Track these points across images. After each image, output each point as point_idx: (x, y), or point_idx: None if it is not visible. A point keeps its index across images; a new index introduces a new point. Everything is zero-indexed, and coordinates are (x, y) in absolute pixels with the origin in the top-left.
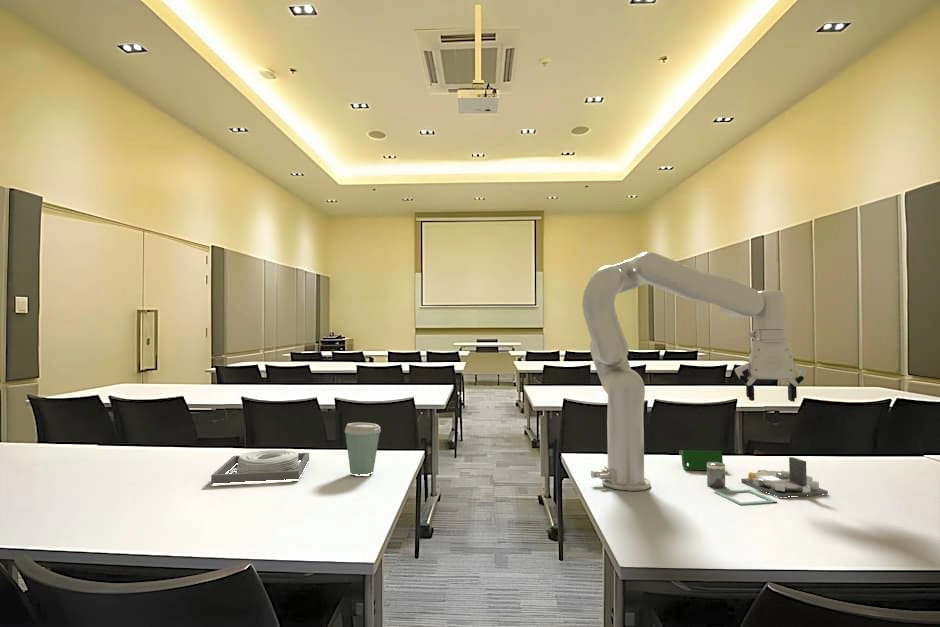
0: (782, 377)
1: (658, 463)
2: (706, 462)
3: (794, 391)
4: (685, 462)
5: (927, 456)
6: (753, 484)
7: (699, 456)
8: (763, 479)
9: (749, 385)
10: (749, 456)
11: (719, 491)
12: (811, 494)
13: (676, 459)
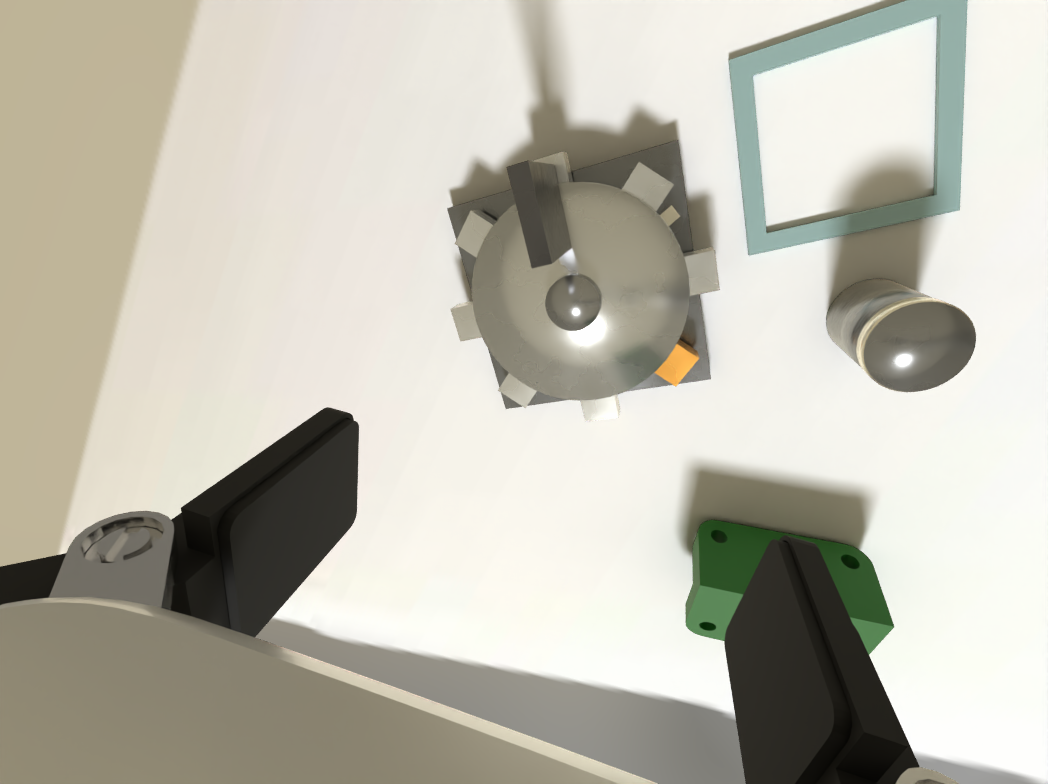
0: (223, 666)
1: (917, 645)
2: None
3: (245, 463)
4: (866, 572)
5: None
6: (700, 304)
7: None
8: (684, 261)
9: (934, 774)
10: (498, 660)
11: (928, 213)
12: None
13: None
